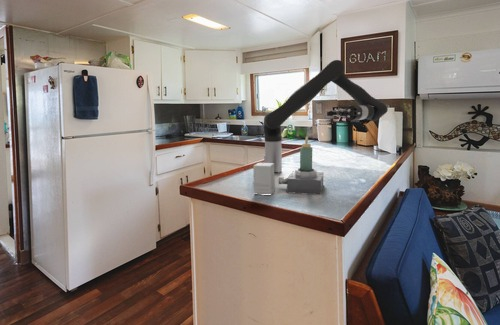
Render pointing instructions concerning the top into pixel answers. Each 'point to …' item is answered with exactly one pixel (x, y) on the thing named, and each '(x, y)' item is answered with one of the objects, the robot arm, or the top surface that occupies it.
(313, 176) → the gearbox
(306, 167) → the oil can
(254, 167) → the supplement box
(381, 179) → the top surface
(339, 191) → the top surface
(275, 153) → the robot arm
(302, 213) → the top surface
